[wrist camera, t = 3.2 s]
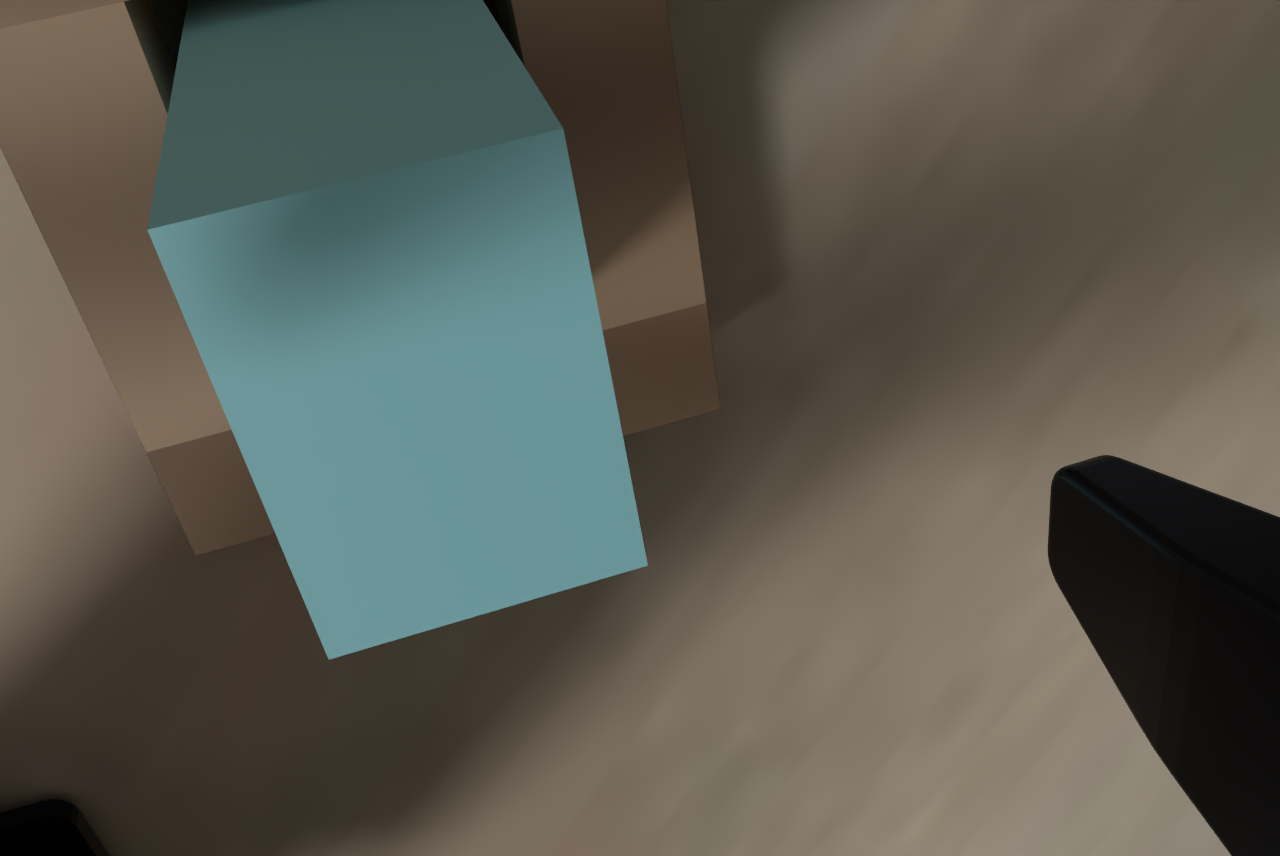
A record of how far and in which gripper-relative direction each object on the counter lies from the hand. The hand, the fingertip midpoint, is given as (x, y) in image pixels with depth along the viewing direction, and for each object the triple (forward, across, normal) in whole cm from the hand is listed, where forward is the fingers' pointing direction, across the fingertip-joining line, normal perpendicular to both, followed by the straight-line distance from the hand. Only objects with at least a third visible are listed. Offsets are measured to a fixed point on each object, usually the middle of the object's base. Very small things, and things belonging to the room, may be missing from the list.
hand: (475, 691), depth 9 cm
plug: (+12, 0, 0) cm, 12 cm away
